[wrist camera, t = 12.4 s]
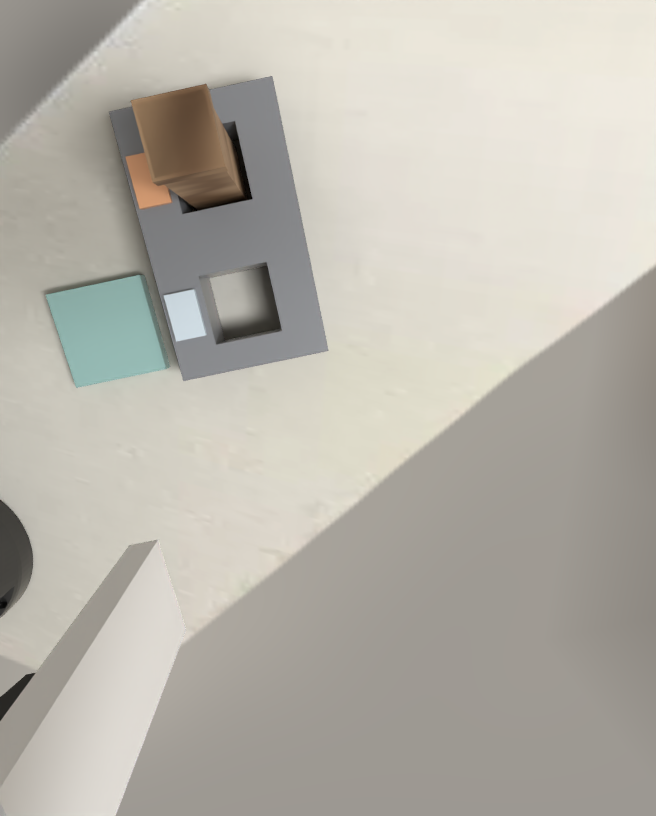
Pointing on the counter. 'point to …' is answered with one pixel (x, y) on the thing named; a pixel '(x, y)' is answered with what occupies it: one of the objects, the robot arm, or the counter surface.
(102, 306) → the plate
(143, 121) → the plug
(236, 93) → the port box
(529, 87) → the counter surface
